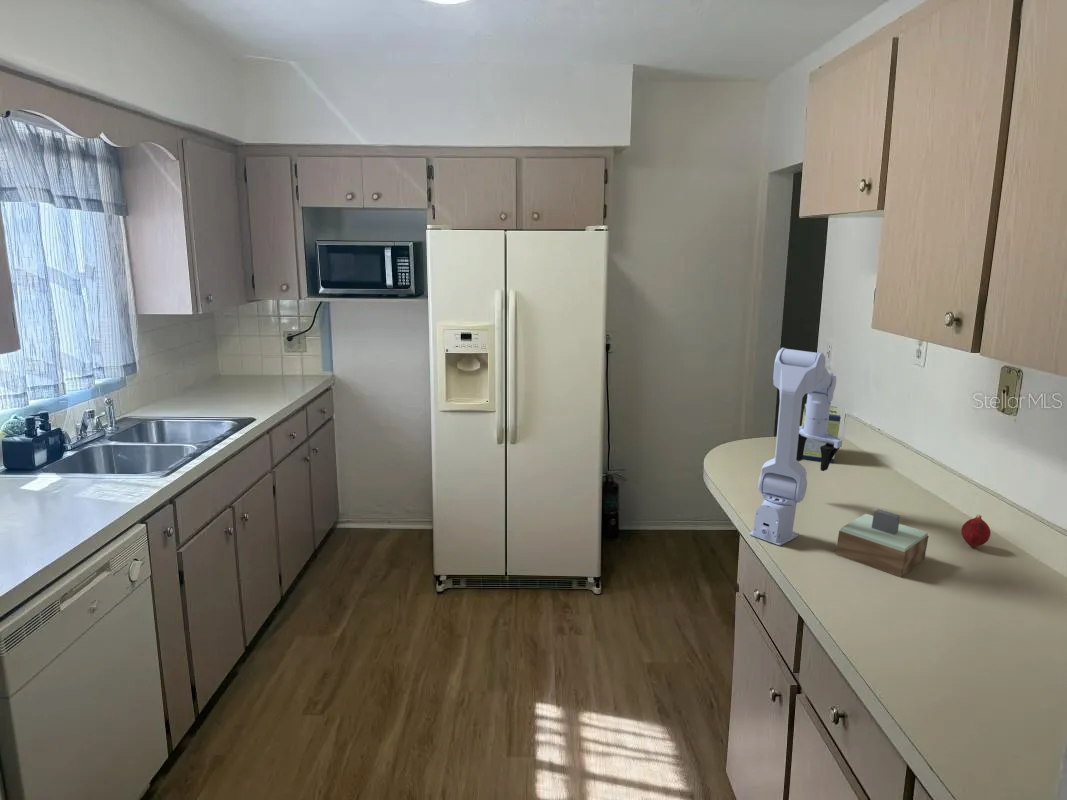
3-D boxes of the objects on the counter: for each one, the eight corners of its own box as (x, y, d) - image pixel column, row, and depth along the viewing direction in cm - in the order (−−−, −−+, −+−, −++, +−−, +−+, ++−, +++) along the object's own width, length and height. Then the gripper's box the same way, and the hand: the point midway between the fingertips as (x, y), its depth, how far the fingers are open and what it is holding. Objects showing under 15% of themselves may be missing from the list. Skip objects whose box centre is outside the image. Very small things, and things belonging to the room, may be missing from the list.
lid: (904, 552, 151) (908, 530, 150) (840, 531, 160) (843, 510, 159) (927, 535, 160) (931, 515, 159) (865, 516, 169) (868, 497, 168)
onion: (989, 554, 166) (996, 521, 164) (961, 549, 167) (967, 517, 166) (983, 544, 171) (990, 513, 169) (956, 540, 173) (962, 508, 171)
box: (900, 577, 152) (905, 552, 150) (835, 554, 161) (839, 531, 160) (924, 559, 161) (928, 535, 160) (861, 538, 171) (865, 516, 170)
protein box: (830, 451, 243) (837, 406, 240) (834, 464, 229) (841, 416, 225) (798, 446, 246) (804, 402, 243) (799, 459, 232) (806, 412, 228)
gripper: (851, 421, 183) (845, 470, 187) (802, 406, 194) (796, 453, 198) (835, 426, 179) (828, 477, 183) (785, 411, 190) (780, 459, 194)
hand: (811, 465), depth 190 cm, fingers open, 7 cm apart
